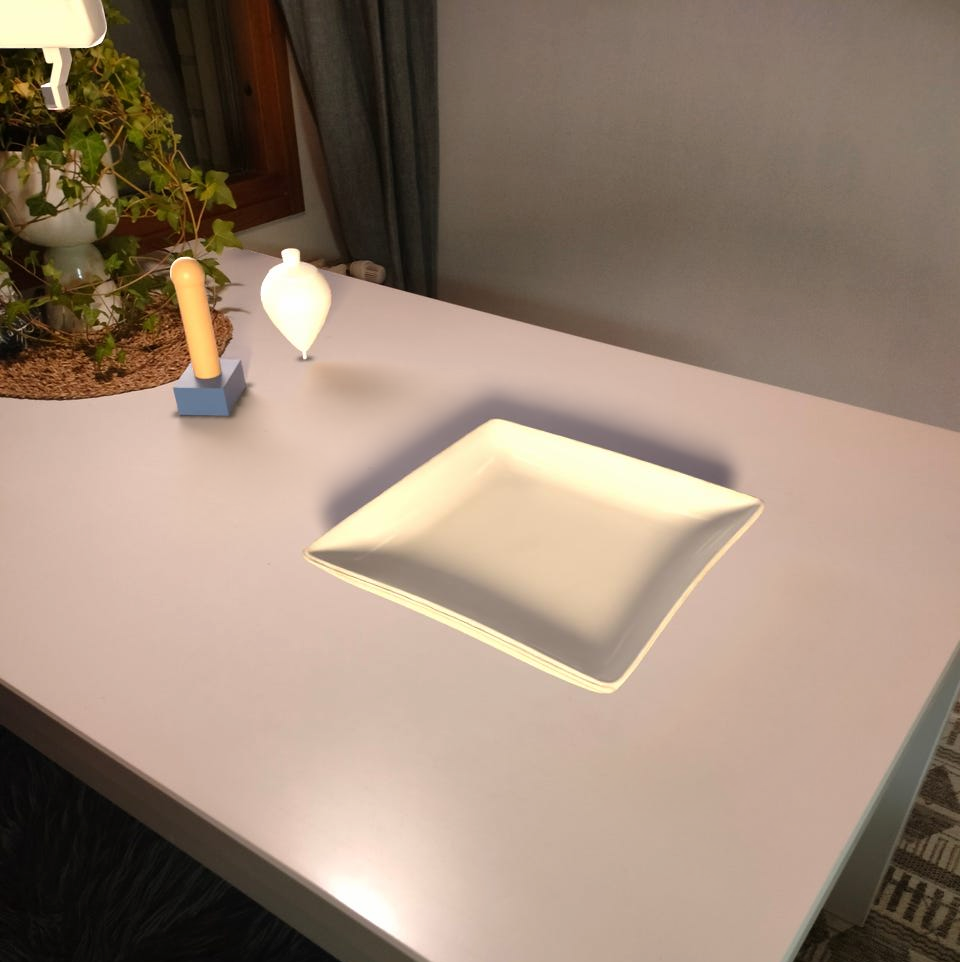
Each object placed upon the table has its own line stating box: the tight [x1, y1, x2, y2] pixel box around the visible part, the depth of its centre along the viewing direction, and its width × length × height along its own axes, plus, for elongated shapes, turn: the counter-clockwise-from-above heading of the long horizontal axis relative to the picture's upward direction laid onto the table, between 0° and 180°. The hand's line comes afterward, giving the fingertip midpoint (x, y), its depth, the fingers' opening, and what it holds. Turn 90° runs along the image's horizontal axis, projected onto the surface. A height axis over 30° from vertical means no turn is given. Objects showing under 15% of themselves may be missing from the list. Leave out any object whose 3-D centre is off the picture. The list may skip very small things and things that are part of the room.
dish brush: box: [169, 256, 247, 417], centre depth 92 cm, size 5×7×15 cm
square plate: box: [301, 417, 766, 694], centre depth 73 cm, size 27×27×4 cm
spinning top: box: [260, 247, 333, 360], centre depth 101 cm, size 8×8×12 cm
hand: (6, 108), depth 80 cm, fingers open, 8 cm apart
